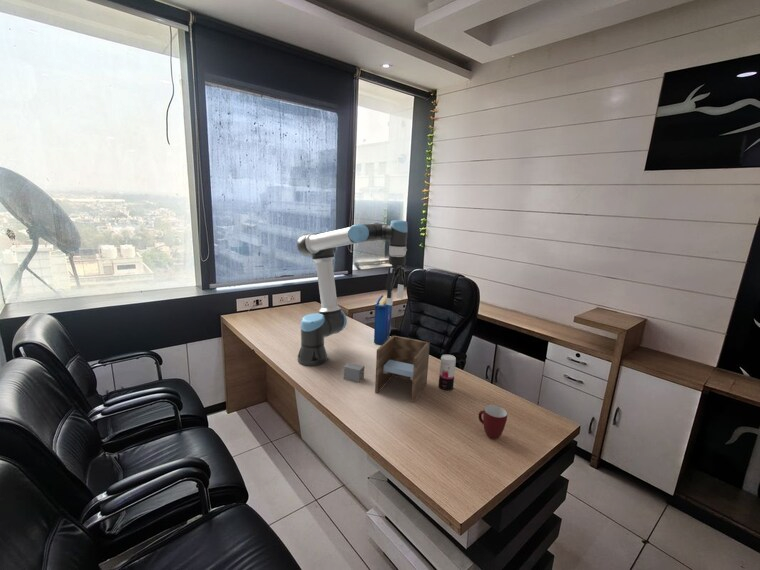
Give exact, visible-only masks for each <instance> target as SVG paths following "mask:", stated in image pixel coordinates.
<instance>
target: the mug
mask: <svg viewBox="0 0 760 570" xmlns="http://www.w3.org/2000/svg"><path fill="white" fill-rule="evenodd" d="M477 416H478V421H479V422H480V423H481V424H482V425H483V429H484V432H485V435H486V436H487V437H488V438H489V439H492V440H497V439H499V438H500V436H502V434H503V431H504V429H505V426H506V423H507V420H508V412H507V410H506V409H505V408H504V407H501V406H500V405H496V404H495V405H494V404H488V405H485V406H484V407H483V410H480V411H479V413H478V415H477Z"/></svg>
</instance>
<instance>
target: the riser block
mask: <svg viewBox="0 0 760 570" xmlns="http://www.w3.org/2000/svg"><path fill="white" fill-rule="evenodd" d="M364 378H365V366H364V365H361V364H356V363H353V362H347V364H345V366H343V379H344V380H347V381H352V382H355V383H360V382H361V381H362V380H364Z"/></svg>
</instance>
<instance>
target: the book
mask: <svg viewBox="0 0 760 570" xmlns="http://www.w3.org/2000/svg"><path fill="white" fill-rule="evenodd" d="M386 299H387V295H383V294H382V295H381V296H380V297H379V298H378V299H377V301H376V304H374V305H375V306H374V334H373V337H374V338H373V343H375V344H377V345H383V344H384V343H385V342H386V341H387V340H388V339H389V336H390V334H391V333H392V332H391V329H392V314H393V313H392V312H393V311H392V310H393V305H386Z"/></svg>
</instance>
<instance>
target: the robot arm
mask: <svg viewBox="0 0 760 570" xmlns="http://www.w3.org/2000/svg"><path fill="white" fill-rule="evenodd" d="M408 230H409V229H408V221H406V220H399V219H397V220H395V219H393V220H391V221H390V223H380V222H371V223H357V224H353V225H351V226H348V227H344V228H339V229H334V230H331V231H326V232H316V233H315V232H313V233H305V234H302V235H301V236H299V238H298V239H297V241H296V242H297V243H296V248H297V251H298V252H299V253H300V254H301V255H302V256H304V257H311V258H312V261H313V262H314V263H315V266H316V273H317V274H316V275H317V282H318V290H319V297H320V298H319V299H320V304H321V307H320V309H318V310H319V311H318V313H317V312H316V313H315V312H314V313H309V314H306V315H304V316H303V317H302V318H301V321H300V340H301V341H300V347H299V348H300V349H299V351H298V354H297V362H298V363H299V364H300V365H303V366H309V367H314V366H320V365H323V364H325V363H326V362H327V361H328V353H327V350H326V347H325V338H327V337H329V336H333V335H334V334H339V333H340V332H341V331H344V329H345V328H346V326H347V321H348V320H347V319H348V318H347V315H346V314H345V312H344V311H342V308H341V306H339V305H338V297H337V289H336V281H335V273H334V266H333V264H334V263H333V261H334V259H335V254H336V253H337V250H338V247H343V246H349V245H354V244H359V243H365V242H375V241H384V242H389V249H388V254H389V256H388V264H389V265H391V267H389V268H388V273H387V278H386V282H385V286H384V291H386V296H387V299H386V305H392V306H393V303H394V301H393V300H394V290H393V289H394V286H395V283H396V281H397V282H398V284H397V292H396V293H397V294H396V298H397V299H404V290H405V289H404V287H405V286H406V285H407V283H406V282H407V281H406V273H405V265H406V261H407V260H406V259H407V257H406V255H407V254H406V253H407V251H408V249H407V243H408V242H407V240H408Z"/></svg>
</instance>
